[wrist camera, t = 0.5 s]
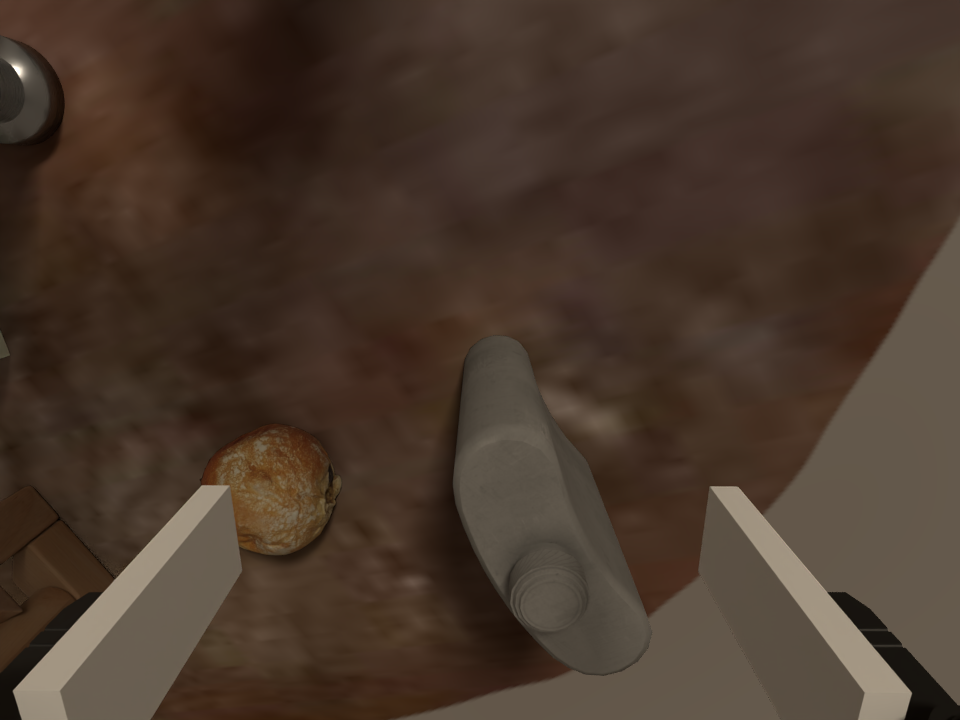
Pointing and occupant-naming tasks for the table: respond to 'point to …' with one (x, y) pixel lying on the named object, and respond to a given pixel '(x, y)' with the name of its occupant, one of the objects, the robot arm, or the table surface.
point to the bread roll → (276, 487)
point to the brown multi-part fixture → (40, 569)
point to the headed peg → (27, 95)
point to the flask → (541, 518)
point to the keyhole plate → (3, 347)
